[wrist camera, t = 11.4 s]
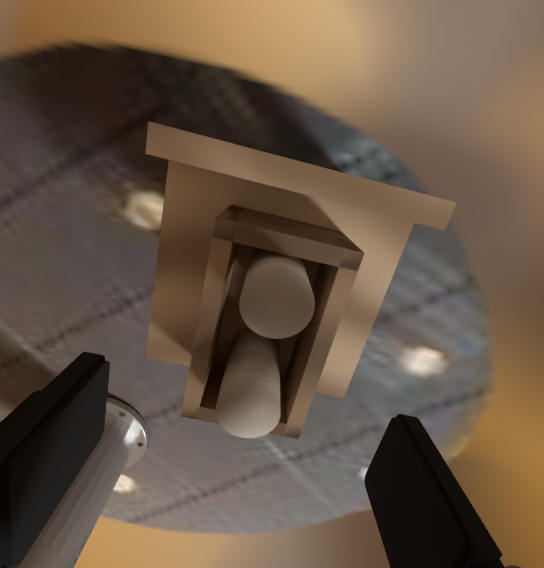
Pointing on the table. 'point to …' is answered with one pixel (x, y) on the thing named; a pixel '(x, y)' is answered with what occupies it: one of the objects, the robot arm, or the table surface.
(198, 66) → the table surface
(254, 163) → the tan flanged panel
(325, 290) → the tray
